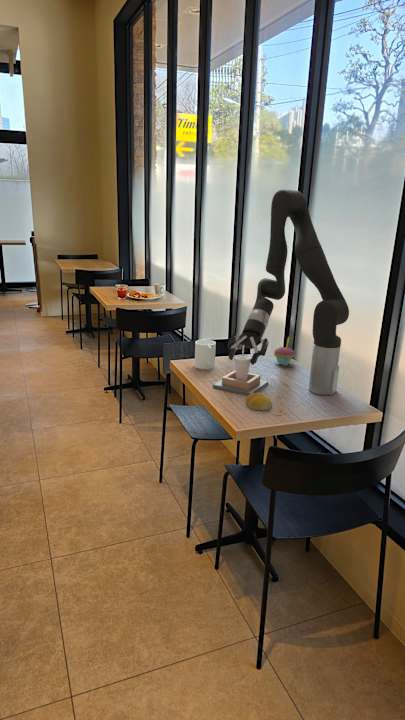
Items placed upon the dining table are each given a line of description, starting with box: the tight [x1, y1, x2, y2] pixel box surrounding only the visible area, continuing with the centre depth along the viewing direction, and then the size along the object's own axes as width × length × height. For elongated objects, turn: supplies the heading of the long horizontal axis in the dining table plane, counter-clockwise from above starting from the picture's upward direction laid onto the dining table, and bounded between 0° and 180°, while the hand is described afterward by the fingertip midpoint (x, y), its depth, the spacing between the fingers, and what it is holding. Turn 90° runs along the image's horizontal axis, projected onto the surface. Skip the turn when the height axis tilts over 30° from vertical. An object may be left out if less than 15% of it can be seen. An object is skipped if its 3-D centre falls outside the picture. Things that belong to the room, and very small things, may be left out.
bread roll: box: [244, 392, 273, 412], centre depth 159 cm, size 8×9×4 cm
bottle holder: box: [212, 369, 269, 397], centre depth 175 cm, size 15×15×4 cm
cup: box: [194, 339, 217, 370], centre depth 193 cm, size 8×12×10 cm
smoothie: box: [233, 345, 252, 382], centre depth 174 cm, size 6×6×14 cm
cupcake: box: [273, 336, 296, 366], centre depth 202 cm, size 9×8×12 cm
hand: (241, 361), depth 172 cm, fingers open, 8 cm apart
